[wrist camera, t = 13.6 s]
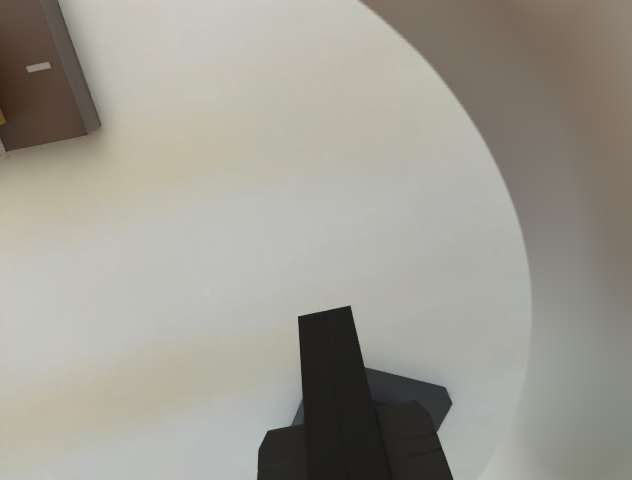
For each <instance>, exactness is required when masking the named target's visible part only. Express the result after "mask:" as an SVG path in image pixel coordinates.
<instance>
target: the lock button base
mask: <svg viewBox="0 0 632 480" xmlns="http://www.w3.org/2000/svg"><path fill="white" fill-rule="evenodd" d="M365 371H366V376H367V380H368V385H369V389H370V393H371V398H372V402H373V406H374V408H375V407H380V406H385V405H390V404H395V403H400V402H405V401H409V400H414V399H415V400H416V401H418V402H419V403H420V404H421V405H422V406H423V407H424V408H425V409H426V410H427V411H428V412H429V413H430V416H431V418H432V421H433V424H434V427H435V430H436V433H437V431H438V429H439V427H440V426H441V424H442V422H443V420H444V418H445V416H446V415H447V413H448V411H449V409H450V407H451V406H452V402H451V399H450V397H449V395H448V393H447V390H446V388H445V387H441V386H437V385H433V384H429V383H425V382H421V381H417V380H413V379H409V378H405V377H401V376H397V375H393V374H389V373H385V372H381V371H377V370H373V369H369V368H365ZM299 424H304V408H303V399H302V402H301V404H300V406H299V409H298V411H297V414H296V416H295V418H294V421H293V423H292V425H291V426H294V425H299Z"/></svg>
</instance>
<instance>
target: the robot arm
mask: <svg viewBox="0 0 632 480" xmlns="http://www.w3.org/2000/svg"><path fill="white" fill-rule="evenodd" d="M298 325H299V341H300V358H301V375H302V392H303V408H304V424H299V425H294V426H289V427H284V428H279V429H274V430H269V431H268V432H267V434H266V436H265V438H264V440H263V442H262V444H261V446H260V448H259V451H258V473H257V480H453V477H452V474H451V471H450V468H449V466H448V463H447V460H446V457H445V455H444V452H443V450H442V446H441V443H440V441H439V438H438V435H437V433H436V430H435V427H434V424H433V421H432V418H431V416H430V413H429V412H428V411H427V410H426V409H425V408H424V407H423V406H422V405H421V404H420V403H419V402H418V401H416V400H415V399H414V400H409V401H405V402H400V403H395V404H390V405H385V406H380V407H375V408H374V406H373V402H372V398H371V393H370V389H369V385H368V380H367V376H366V371H365V367H364V363H363V358H362V354H361V350H360V345H359V341H358V337H357V332H356V328H355V324H354V319H353V315H352V310H351V306H346V307H341V308H336V309H332V310H327V311H322V312H317V313H313V314H308V315H303V316H298Z"/></svg>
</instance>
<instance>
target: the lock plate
mask: <svg viewBox="0 0 632 480" xmlns="http://www.w3.org/2000/svg"><path fill="white" fill-rule="evenodd" d="M0 108H1V111H2V113H3V116H4V118H5V120H6V123H4V124H2V125H0V154H1V156H2V158H8V157H9V156H8V154H7V151H11V150H16V149H21V148H26V147H31V146H36V145H41V144H46V143H51V142H55V141H60V140H65V139H70V138H75V137H80V136H85V135H88V134H89V133H91V132H92V131H94V130H95V129H96V128H98V127H99V126H100V125H101V123H100V120H99V118H98V115H97V112H96V109H95V106H94V103H93V101H92V98H91V95H90V92H89V89H88V86H87V84H86V81H85V78H84V75H83V72H82V69H81V67H80V64H79V61H78V58H77V55H76V52H75V50H74V47H73V44H72V41H71V38H70V35H69V33H68V30H67V27H66V24H65V21H64V18H63V16H62V13H61V10H60V7H59V4H58V2H57V0H0Z"/></svg>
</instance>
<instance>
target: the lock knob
mask: <svg viewBox="0 0 632 480" xmlns="http://www.w3.org/2000/svg"><path fill="white" fill-rule="evenodd" d="M4 123H6V120H5V118H4V116H3V113H2V111H1V108H0V125H2V124H4Z"/></svg>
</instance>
